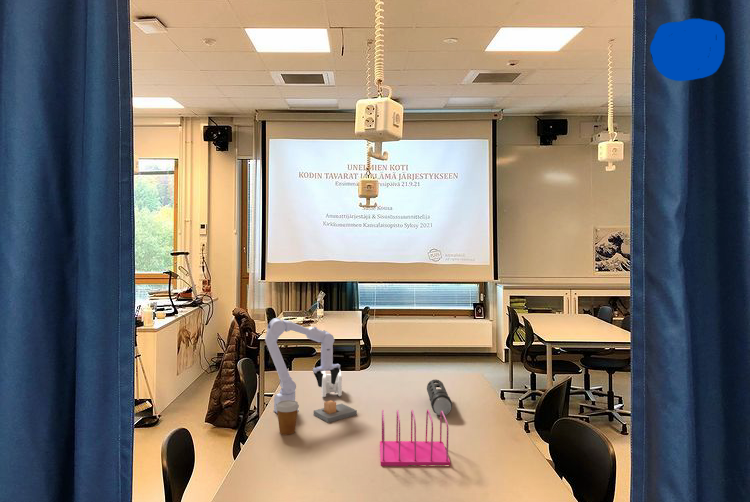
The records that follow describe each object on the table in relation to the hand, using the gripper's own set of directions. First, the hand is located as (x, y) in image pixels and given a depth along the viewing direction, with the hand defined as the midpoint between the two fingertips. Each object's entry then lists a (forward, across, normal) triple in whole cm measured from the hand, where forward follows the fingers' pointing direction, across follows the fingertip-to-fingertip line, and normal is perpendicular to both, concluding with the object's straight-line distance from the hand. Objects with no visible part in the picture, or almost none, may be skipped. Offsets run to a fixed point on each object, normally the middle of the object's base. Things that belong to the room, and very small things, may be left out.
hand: (326, 385), depth 228 cm
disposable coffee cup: (+11, -30, -16) cm, 36 cm away
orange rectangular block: (+10, -5, -11) cm, 16 cm away
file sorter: (+11, -3, -64) cm, 65 cm away
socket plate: (+10, -3, -12) cm, 16 cm away
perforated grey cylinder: (+11, +42, -35) cm, 56 cm away
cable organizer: (+11, +12, +14) cm, 21 cm away
